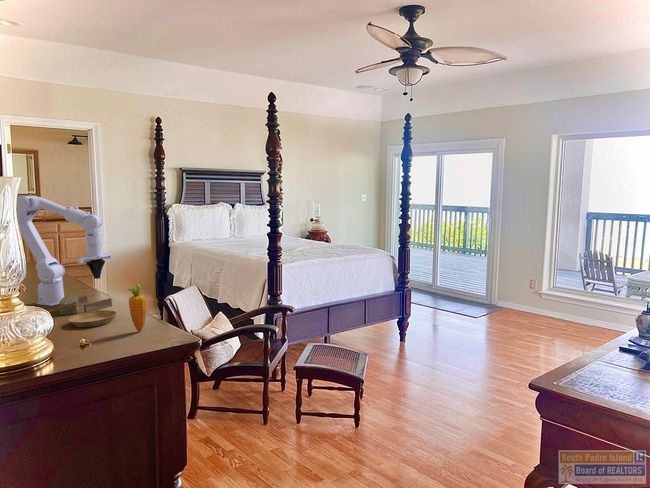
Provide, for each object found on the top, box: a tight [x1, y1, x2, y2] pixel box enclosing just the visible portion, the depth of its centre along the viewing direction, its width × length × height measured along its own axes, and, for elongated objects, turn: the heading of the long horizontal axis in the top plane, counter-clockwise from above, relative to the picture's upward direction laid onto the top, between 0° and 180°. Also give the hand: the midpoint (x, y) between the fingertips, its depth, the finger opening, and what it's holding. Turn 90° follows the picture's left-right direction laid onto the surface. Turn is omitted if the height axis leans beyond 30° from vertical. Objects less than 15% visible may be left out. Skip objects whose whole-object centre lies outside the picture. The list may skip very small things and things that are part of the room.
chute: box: [59, 295, 113, 313], centre depth 182 cm, size 15×11×3 cm
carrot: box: [127, 282, 147, 333], centre depth 146 cm, size 5×5×15 cm
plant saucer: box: [67, 309, 118, 328], centre depth 160 cm, size 15×15×3 cm
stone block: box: [58, 296, 80, 316], centre depth 176 cm, size 6×12×5 cm, turn 23°
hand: (97, 278), depth 191 cm, fingers closed
